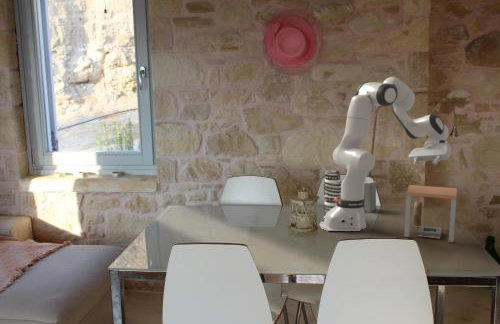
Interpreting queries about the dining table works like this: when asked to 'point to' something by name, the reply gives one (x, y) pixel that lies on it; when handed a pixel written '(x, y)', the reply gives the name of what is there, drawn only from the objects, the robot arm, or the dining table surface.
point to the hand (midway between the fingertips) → (424, 164)
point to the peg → (417, 213)
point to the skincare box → (370, 196)
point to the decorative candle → (331, 189)
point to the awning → (436, 193)
